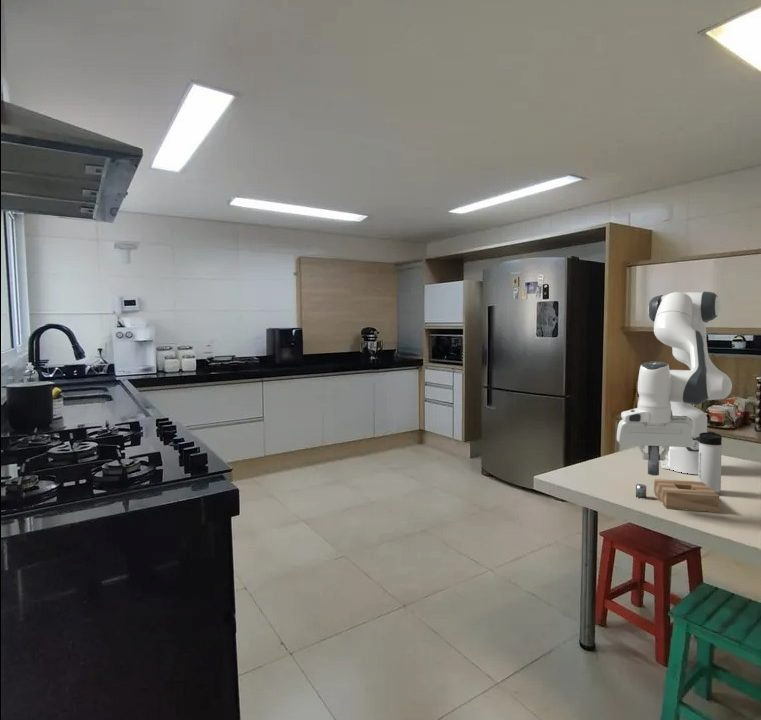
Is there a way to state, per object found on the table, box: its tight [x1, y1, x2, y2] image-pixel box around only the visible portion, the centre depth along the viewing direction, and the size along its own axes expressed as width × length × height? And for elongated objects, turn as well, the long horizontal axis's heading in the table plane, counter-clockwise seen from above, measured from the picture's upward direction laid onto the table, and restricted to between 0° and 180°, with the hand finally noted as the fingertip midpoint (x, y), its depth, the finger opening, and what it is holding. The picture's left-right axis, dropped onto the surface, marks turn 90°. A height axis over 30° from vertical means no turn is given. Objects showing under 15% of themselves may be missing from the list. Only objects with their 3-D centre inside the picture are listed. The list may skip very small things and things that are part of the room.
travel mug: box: [697, 431, 723, 496], centre depth 158 cm, size 6×7×20 cm
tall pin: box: [647, 446, 660, 476], centre depth 145 cm, size 3×3×9 cm
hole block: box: [653, 478, 720, 513], centre depth 150 cm, size 14×14×5 cm
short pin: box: [635, 483, 647, 499], centre depth 155 cm, size 3×3×4 cm
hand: (653, 459), depth 145 cm, fingers closed on tall pin, 3 cm apart
